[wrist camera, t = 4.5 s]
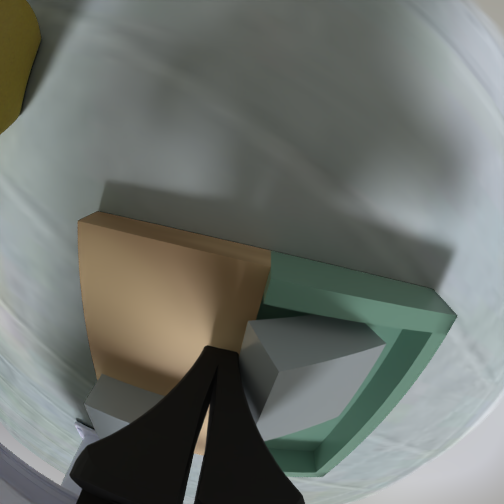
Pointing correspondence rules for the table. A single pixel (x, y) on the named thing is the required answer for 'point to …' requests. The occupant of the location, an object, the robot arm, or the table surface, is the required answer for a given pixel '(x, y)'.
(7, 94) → the flower pot
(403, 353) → the tray
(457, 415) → the table surface
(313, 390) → the tile right
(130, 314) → the board
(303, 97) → the table surface
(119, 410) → the tile left
